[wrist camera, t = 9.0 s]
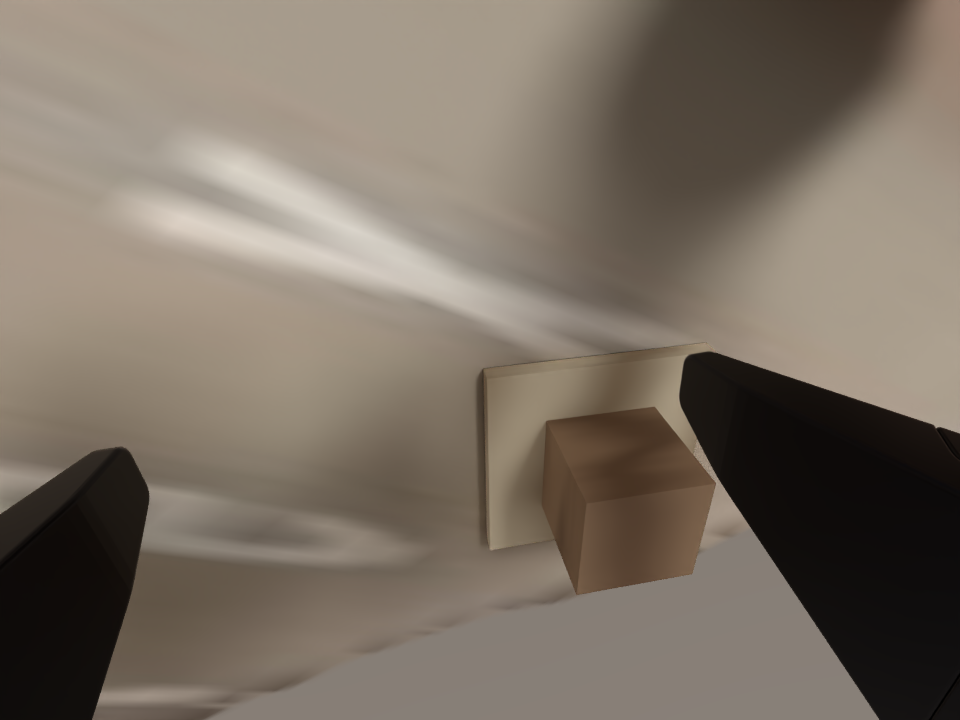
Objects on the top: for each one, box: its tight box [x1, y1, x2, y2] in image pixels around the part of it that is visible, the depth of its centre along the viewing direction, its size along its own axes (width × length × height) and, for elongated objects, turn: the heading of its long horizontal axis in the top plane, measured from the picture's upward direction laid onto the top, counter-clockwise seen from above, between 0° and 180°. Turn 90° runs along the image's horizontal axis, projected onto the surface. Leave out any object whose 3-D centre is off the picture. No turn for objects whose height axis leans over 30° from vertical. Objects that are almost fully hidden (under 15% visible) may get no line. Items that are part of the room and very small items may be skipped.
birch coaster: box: [483, 343, 716, 550], centre depth 26 cm, size 10×10×1 cm
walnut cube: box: [542, 407, 716, 595], centre depth 24 cm, size 5×5×5 cm
